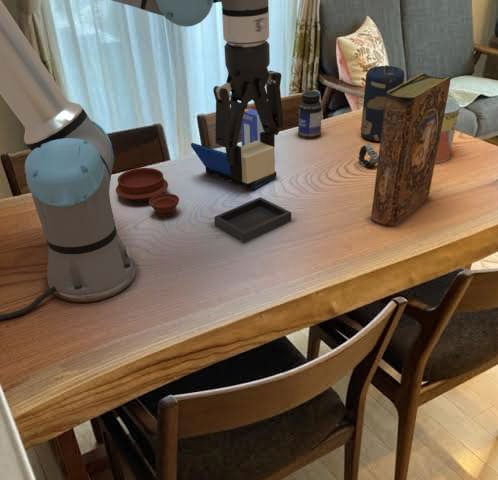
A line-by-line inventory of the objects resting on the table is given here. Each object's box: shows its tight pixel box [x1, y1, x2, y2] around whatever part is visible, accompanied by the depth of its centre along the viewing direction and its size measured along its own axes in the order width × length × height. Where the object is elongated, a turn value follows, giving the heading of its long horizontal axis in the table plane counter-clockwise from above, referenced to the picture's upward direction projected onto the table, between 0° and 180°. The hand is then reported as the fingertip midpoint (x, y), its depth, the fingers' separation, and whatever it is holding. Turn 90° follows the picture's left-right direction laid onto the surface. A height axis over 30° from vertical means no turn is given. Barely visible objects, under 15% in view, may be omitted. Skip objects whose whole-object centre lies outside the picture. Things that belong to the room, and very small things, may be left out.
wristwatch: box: [357, 143, 379, 168], centre depth 130 cm, size 3×5×5 cm
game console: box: [190, 142, 277, 190], centre depth 125 cm, size 16×13×9 cm
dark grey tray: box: [213, 196, 292, 243], centre depth 110 cm, size 13×10×2 cm
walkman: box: [240, 107, 265, 146], centre depth 132 cm, size 8×3×12 cm, turn 43°
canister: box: [360, 64, 405, 142], centre depth 139 cm, size 10×10×18 cm
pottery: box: [115, 167, 180, 218], centre depth 118 cm, size 12×20×4 cm, turn 35°
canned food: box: [435, 99, 461, 164], centre depth 131 cm, size 11×11×12 cm
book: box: [370, 72, 452, 228], centre depth 105 cm, size 16×6×25 cm, turn 141°
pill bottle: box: [297, 90, 323, 140], centre depth 144 cm, size 6×6×11 cm
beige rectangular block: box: [240, 141, 276, 184], centre depth 102 cm, size 7×5×5 cm
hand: (251, 172), depth 104 cm, fingers closed on beige rectangular block, 7 cm apart
